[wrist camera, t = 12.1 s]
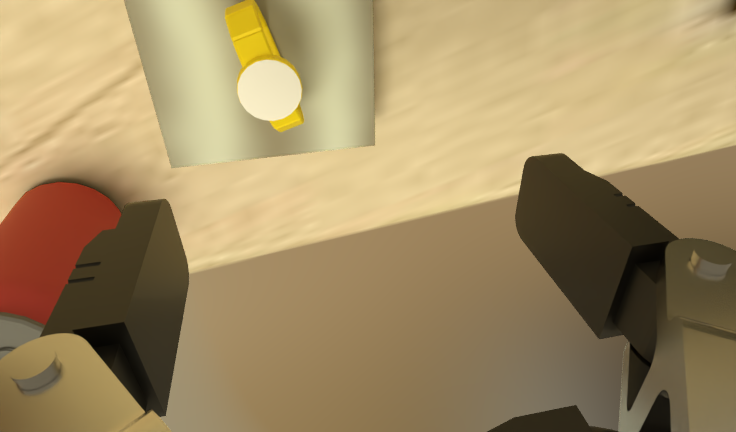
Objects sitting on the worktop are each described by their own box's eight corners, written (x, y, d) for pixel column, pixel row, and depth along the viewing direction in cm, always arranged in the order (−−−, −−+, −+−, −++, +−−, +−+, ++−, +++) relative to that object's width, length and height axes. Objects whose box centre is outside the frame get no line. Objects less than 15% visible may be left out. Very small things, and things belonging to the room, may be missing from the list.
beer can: (101, 272, 35) (45, 417, 25) (0, 233, 32) (-110, 382, 22) (145, 208, 33) (102, 338, 23) (42, 159, 30) (-59, 287, 20)
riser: (355, -87, 26) (371, -85, 23) (362, 120, 33) (375, 145, 29) (121, -80, 24) (102, -77, 21) (179, 139, 31) (171, 168, 27)
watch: (309, 90, 27) (326, 140, 22) (263, 108, 27) (271, 162, 22) (263, -19, 23) (273, 14, 19) (211, 2, 23) (207, 40, 19)
